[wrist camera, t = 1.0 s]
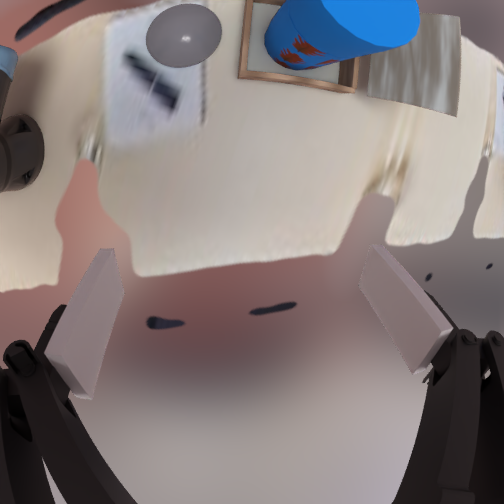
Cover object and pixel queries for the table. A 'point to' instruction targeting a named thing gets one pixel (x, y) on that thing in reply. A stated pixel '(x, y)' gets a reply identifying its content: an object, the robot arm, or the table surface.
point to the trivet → (183, 35)
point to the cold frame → (391, 66)
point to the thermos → (338, 30)
